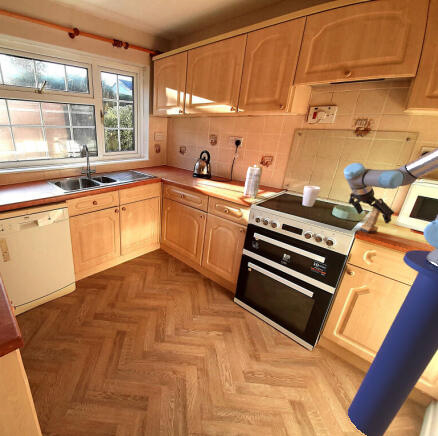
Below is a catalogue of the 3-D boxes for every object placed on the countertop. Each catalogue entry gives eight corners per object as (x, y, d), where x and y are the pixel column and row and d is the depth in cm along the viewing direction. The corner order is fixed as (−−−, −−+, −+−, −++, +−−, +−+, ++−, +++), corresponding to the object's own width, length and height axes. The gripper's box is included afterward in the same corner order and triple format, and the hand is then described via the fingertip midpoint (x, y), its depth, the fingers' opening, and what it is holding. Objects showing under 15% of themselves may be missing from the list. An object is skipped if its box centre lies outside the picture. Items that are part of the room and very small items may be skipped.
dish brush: (367, 233, 128) (378, 206, 122) (360, 230, 131) (370, 203, 126) (376, 232, 129) (387, 205, 123) (368, 229, 133) (378, 203, 127)
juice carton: (257, 196, 188) (263, 165, 179) (255, 198, 182) (261, 166, 173) (245, 194, 193) (250, 163, 184) (242, 196, 187) (247, 165, 178)
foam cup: (296, 203, 173) (301, 186, 168) (305, 202, 176) (310, 185, 172) (309, 208, 165) (314, 189, 160) (318, 206, 168) (323, 188, 164)
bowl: (365, 223, 140) (368, 215, 138) (332, 217, 148) (335, 210, 146) (360, 216, 152) (363, 208, 151) (330, 211, 160) (333, 203, 158)
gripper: (332, 188, 130) (345, 213, 139) (384, 203, 107) (395, 231, 116) (343, 178, 129) (355, 204, 138) (398, 191, 107) (408, 220, 116)
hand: (373, 216), depth 127 cm, fingers open, 13 cm apart
